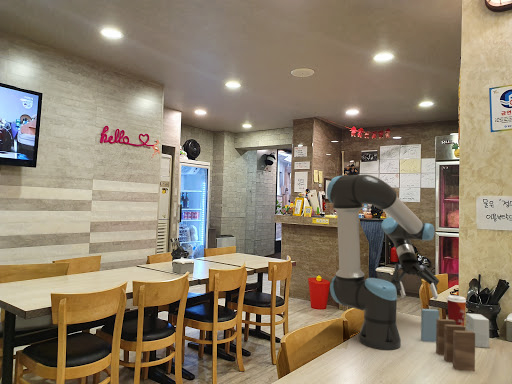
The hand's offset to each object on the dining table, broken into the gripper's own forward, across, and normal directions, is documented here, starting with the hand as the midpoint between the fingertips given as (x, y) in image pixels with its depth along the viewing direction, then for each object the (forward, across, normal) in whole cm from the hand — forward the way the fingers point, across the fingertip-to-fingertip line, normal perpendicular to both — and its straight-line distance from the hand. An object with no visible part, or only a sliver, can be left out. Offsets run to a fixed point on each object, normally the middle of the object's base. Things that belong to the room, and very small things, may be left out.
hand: (420, 297), depth 156 cm
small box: (+18, -18, -2) cm, 26 cm away
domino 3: (+35, 0, +15) cm, 38 cm away
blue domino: (+17, 0, -3) cm, 18 cm away
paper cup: (+7, -18, -14) cm, 23 cm away
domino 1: (+27, 0, +6) cm, 27 cm away
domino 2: (+31, 0, +11) cm, 33 cm away
